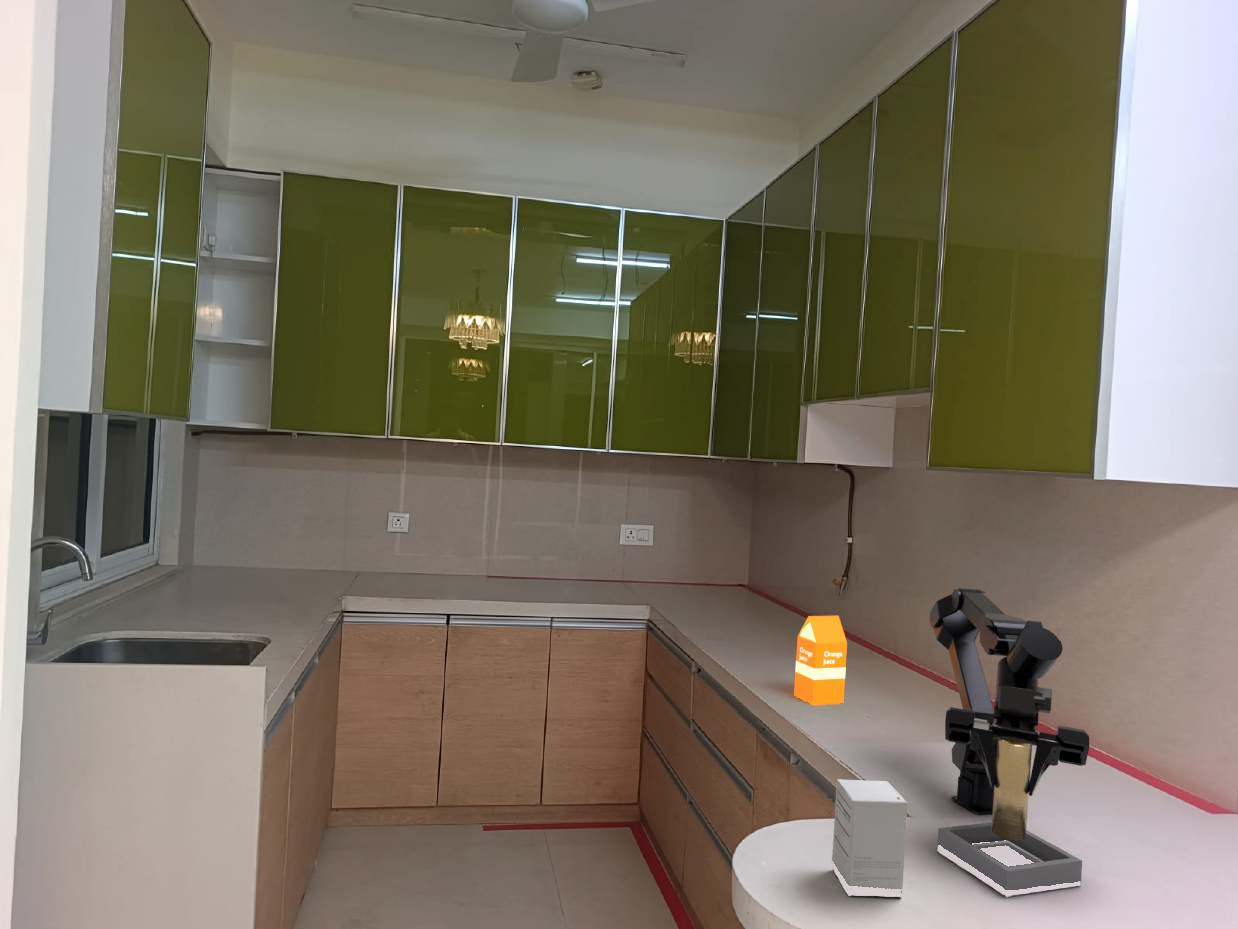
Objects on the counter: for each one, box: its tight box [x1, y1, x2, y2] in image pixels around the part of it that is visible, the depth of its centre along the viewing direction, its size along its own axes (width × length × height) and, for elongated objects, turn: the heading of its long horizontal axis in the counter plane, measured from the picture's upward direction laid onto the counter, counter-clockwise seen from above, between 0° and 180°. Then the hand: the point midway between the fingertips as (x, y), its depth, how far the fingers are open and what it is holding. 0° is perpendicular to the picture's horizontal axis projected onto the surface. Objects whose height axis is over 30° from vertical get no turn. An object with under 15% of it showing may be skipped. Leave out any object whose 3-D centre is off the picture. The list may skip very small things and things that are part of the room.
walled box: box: [937, 821, 1083, 890], centre depth 119 cm, size 13×13×4 cm
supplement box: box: [831, 778, 908, 890], centre depth 112 cm, size 7×7×13 cm
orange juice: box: [793, 615, 848, 706], centre depth 201 cm, size 8×9×20 cm
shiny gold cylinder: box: [991, 736, 1033, 841], centre depth 119 cm, size 4×4×13 cm
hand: (1011, 790), depth 118 cm, fingers closed on shiny gold cylinder, 4 cm apart
